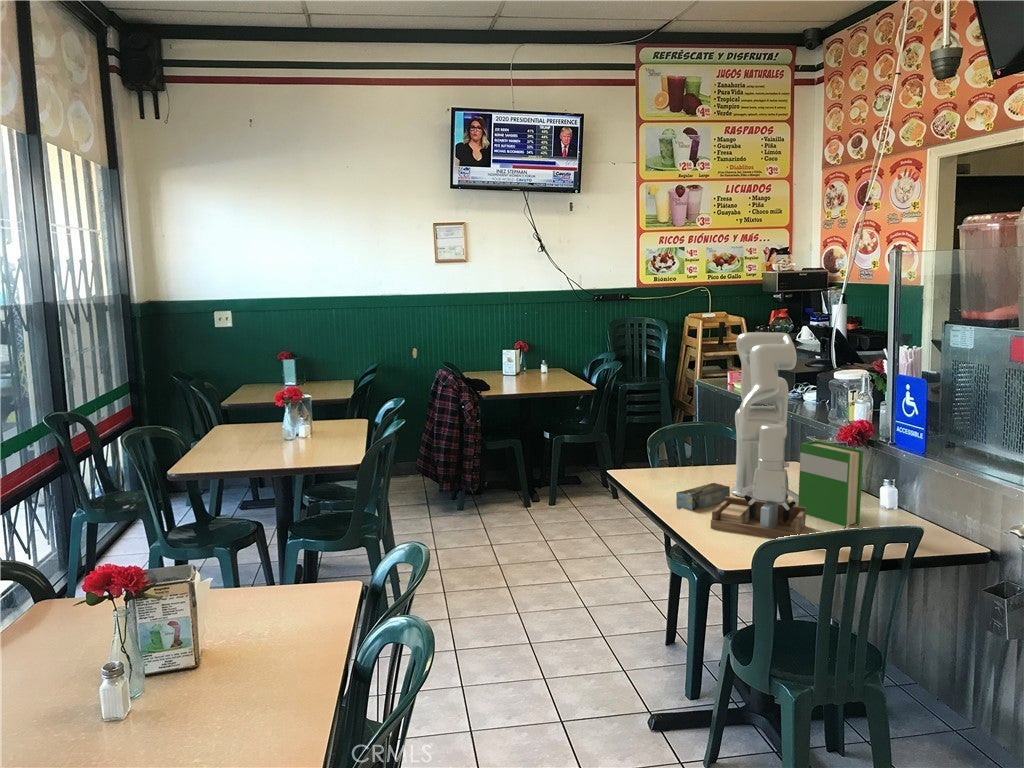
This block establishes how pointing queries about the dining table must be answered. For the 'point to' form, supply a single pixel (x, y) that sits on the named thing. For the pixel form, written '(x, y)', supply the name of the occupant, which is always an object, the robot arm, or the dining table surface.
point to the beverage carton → (702, 496)
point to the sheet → (769, 515)
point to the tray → (753, 525)
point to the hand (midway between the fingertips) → (769, 519)
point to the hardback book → (831, 482)
